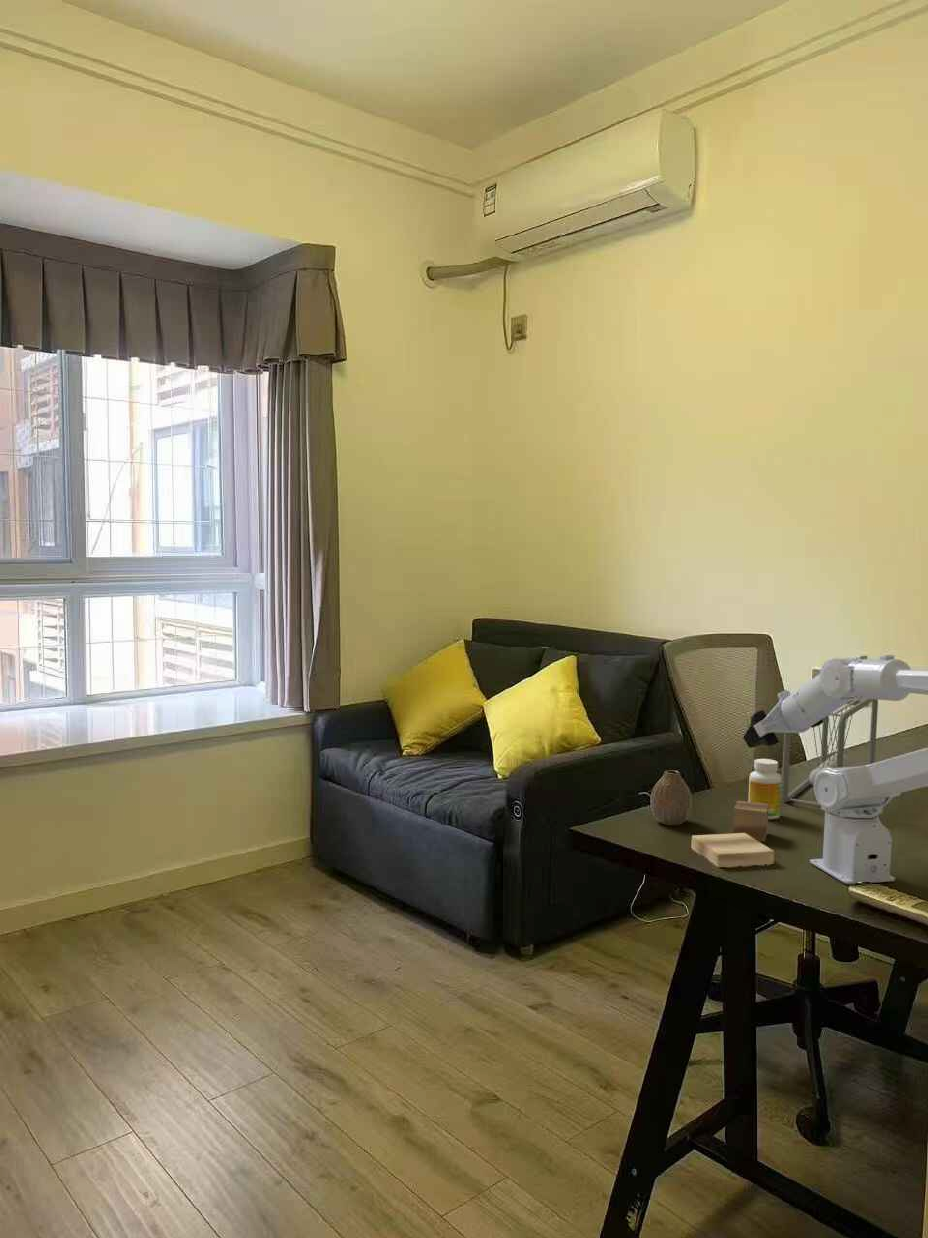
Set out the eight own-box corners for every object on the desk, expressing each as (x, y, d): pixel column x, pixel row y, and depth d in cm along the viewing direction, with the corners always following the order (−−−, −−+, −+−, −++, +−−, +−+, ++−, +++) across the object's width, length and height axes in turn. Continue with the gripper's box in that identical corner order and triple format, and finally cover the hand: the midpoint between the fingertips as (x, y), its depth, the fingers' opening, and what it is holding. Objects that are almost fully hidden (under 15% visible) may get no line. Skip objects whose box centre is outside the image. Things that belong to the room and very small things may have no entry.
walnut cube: (765, 842, 157) (766, 812, 157) (732, 838, 159) (734, 808, 159) (767, 833, 162) (768, 804, 162) (735, 830, 164) (737, 800, 163)
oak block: (773, 867, 147) (774, 851, 146) (717, 871, 145) (718, 854, 145) (744, 848, 155) (744, 832, 155) (691, 851, 154) (691, 835, 153)
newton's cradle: (839, 814, 174) (844, 715, 172) (780, 804, 180) (784, 708, 178) (874, 779, 199) (879, 693, 197) (820, 772, 205) (825, 687, 203)
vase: (696, 820, 168) (698, 770, 168) (683, 831, 162) (685, 778, 162) (657, 814, 172) (659, 764, 171) (643, 824, 166) (645, 773, 165)
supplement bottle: (781, 821, 169) (784, 765, 168) (749, 819, 170) (751, 763, 169) (778, 812, 174) (780, 758, 173) (746, 810, 175) (748, 756, 174)
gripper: (831, 666, 156) (783, 700, 167) (765, 693, 149) (719, 726, 161) (856, 705, 153) (805, 737, 165) (789, 734, 147) (741, 765, 158)
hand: (764, 734), depth 163 cm, fingers open, 7 cm apart
